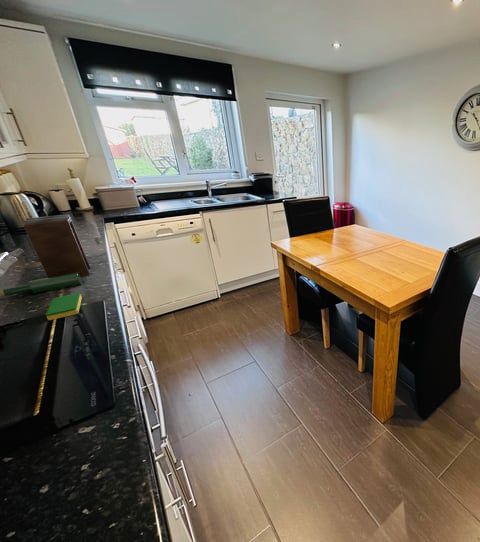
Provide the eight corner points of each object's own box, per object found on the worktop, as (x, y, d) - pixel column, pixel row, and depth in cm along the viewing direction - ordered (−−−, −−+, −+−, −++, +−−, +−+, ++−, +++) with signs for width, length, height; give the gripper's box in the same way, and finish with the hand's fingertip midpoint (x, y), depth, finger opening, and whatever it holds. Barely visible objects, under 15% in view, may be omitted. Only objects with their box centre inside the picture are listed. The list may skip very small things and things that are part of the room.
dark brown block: (50, 282, 114) (21, 222, 104) (53, 274, 121) (27, 217, 111) (90, 275, 121) (66, 218, 111) (90, 268, 128) (69, 213, 118)
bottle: (1, 302, 100) (-6, 289, 98) (5, 297, 103) (-2, 284, 101) (81, 286, 112) (76, 274, 110) (82, 282, 116) (77, 271, 114)
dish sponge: (48, 321, 90) (45, 315, 89) (55, 303, 100) (52, 297, 99) (78, 314, 94) (75, 308, 93) (82, 298, 104) (79, 292, 103)
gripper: (-48, 284, 87) (1, 255, 91) (-26, 264, 101) (15, 240, 105) (-22, 297, 91) (23, 269, 95) (-5, 275, 105) (34, 252, 109)
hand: (19, 253), depth 100 cm, fingers open, 8 cm apart
